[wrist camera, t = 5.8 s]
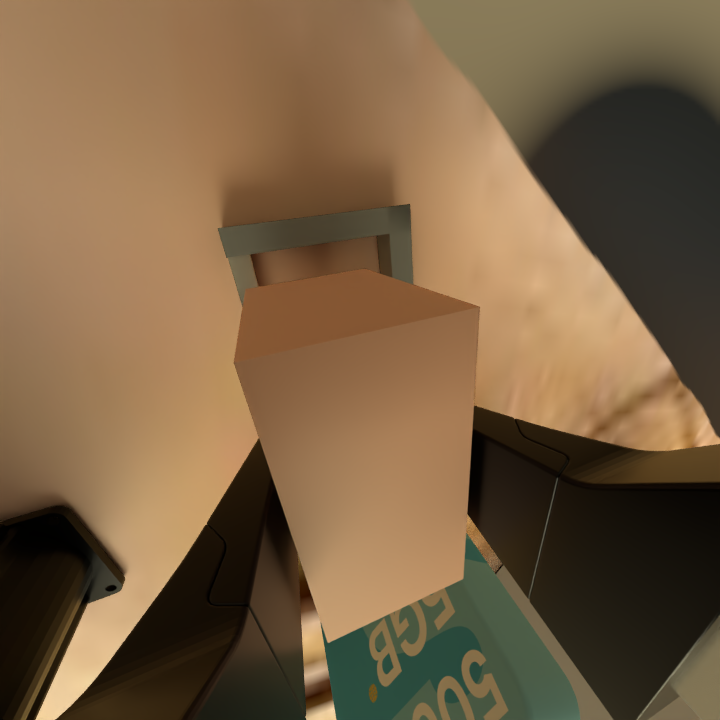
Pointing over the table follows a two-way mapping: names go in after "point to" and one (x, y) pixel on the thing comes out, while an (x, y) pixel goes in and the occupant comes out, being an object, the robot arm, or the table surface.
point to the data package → (450, 659)
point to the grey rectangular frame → (322, 240)
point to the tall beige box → (364, 433)
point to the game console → (593, 714)
